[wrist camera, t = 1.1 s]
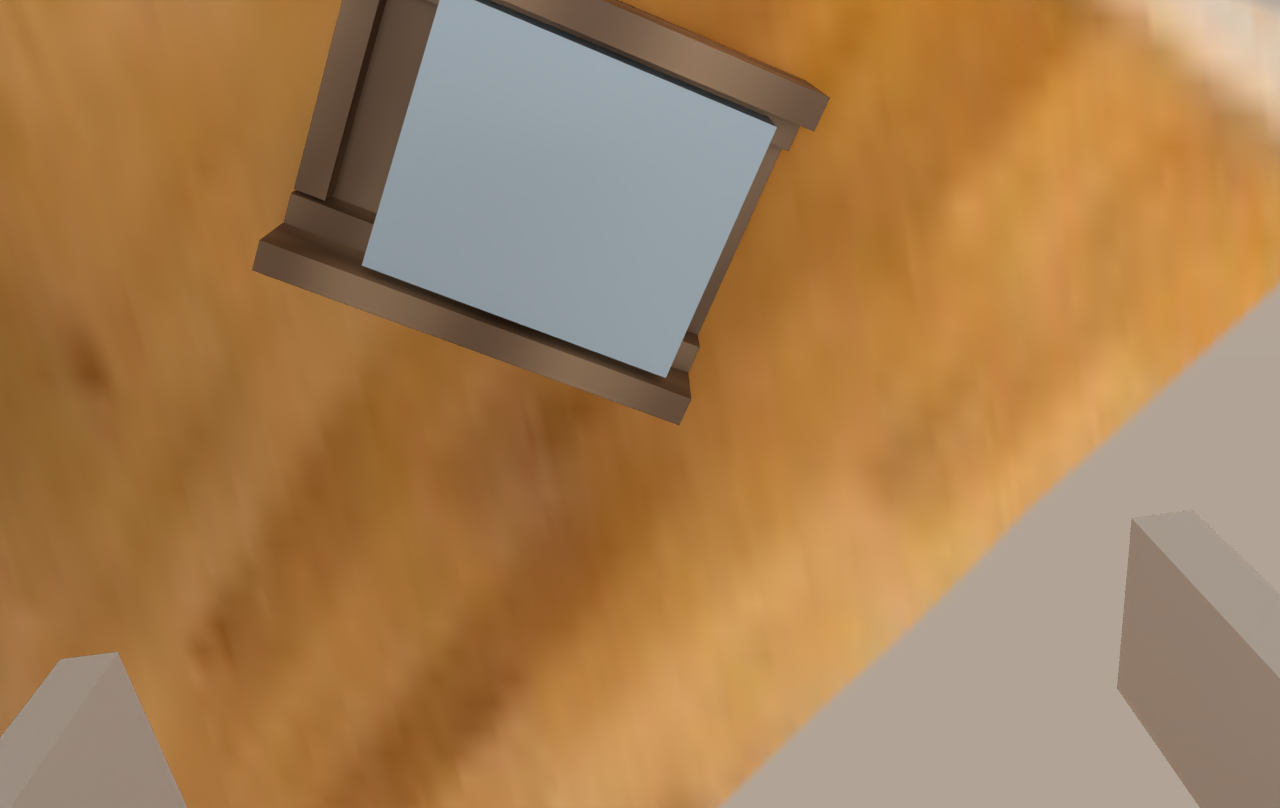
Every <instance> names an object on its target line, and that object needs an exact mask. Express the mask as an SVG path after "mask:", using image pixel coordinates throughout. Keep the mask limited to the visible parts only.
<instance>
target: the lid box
mask: <svg viewBox="0 0 1280 808" xmlns="http://www.w3.org/2000/svg"><path fill="white" fill-rule="evenodd" d="M491 1H494V2H496V3H499V4H501V5H503V6H506V7H508V8H510V9H513V10H515V11H518V12H520V13H522V14H525V15H527V16H529V17H532V18H534V19H537V20H539V21H541V22H544V23H546V24H548V25H551V26H553V27H556V28H558V29H560V30H563V31H565V32H568V33H570V34H572V35H575V36H577V37H579V38H582V39H584V40H587V41H589V42H591V43H594V44H596V45H598V46H601V47H603V48H606V49H608V50H610V51H613V52H615V53H617V54H620V55H622V56H625V57H627V58H629V59H632V60H634V61H636V62H639V63H641V64H644V65H646V66H648V67H651V68H653V69H655V70H658V71H660V72H663V73H665V74H667V75H670V76H672V77H674V78H677V79H679V80H682V81H684V82H686V83H689V84H691V85H693V86H696V87H698V88H701V89H703V90H705V91H708V92H710V93H713V94H715V95H717V96H720V97H722V98H724V99H727V100H729V101H732V102H734V103H736V104H739V105H741V106H743V107H746V108H748V109H751V110H753V111H755V112H758V113H760V114H762V115H765V116H767V117H769V118H770V119H771V120H772V122H773V123H774V124H775V125H776V126H777V129H776V131H775V133H774V135H773V138H772V140H771V142H770V144H769V147H768V149H767V151H766V153H765V156H764V158H763V160H762V162H761V165H760V167H759V169H758V171H757V174H756V176H755V178H754V180H753V183H752V185H751V187H750V189H749V192H748V194H747V196H746V198H745V201H744V203H743V205H742V207H741V210H740V212H739V214H738V216H737V219H736V221H735V223H734V225H733V228H732V230H731V232H730V234H729V237H728V239H727V241H726V243H725V246H724V248H723V250H722V252H721V255H720V257H719V259H718V261H717V264H716V266H715V268H714V270H713V273H712V275H711V277H710V279H709V282H708V284H707V286H706V288H705V291H704V293H703V295H702V297H701V300H700V302H699V304H698V306H697V309H696V311H695V313H694V315H693V318H692V320H691V322H690V324H689V327H688V329H687V331H686V333H685V336H684V338H683V340H682V342H681V345H680V347H679V349H678V352H677V354H676V356H675V358H674V361H673V363H672V365H671V367H670V370H669V372H668V374H667V376H666V378H665V377H662V376H659V375H656V374H654V373H651V372H648V371H646V370H643V369H640V368H638V367H635V366H632V365H629V364H627V363H624V362H621V361H619V360H616V359H613V358H611V357H608V356H605V355H602V354H600V353H597V352H594V351H592V350H589V349H586V348H584V347H581V346H578V345H575V344H573V343H570V342H567V341H565V340H562V339H559V338H556V337H554V336H551V335H548V334H546V333H543V332H540V331H538V330H535V329H532V328H529V327H527V326H524V325H521V324H519V323H516V322H513V321H511V320H508V319H505V318H502V317H500V316H497V315H494V314H492V313H489V312H486V311H483V310H481V309H478V308H475V307H473V306H470V305H467V304H465V303H462V302H459V301H456V300H454V299H451V298H448V297H446V296H443V295H440V294H438V293H435V292H432V291H429V290H427V289H424V288H421V287H419V286H416V285H413V284H411V283H408V282H405V281H402V280H400V279H397V278H394V277H392V276H389V275H386V274H383V273H381V272H378V271H375V270H373V269H370V268H367V267H365V266H362V263H363V259H364V256H365V252H366V249H367V246H368V242H369V239H370V235H371V232H372V229H373V225H374V222H375V218H376V215H377V211H378V208H379V205H380V201H381V198H382V194H383V191H384V188H385V184H386V181H387V177H388V174H389V171H390V167H391V164H392V160H393V157H394V154H395V150H396V147H397V143H398V140H399V137H400V133H401V130H402V126H403V123H404V120H405V116H406V113H407V109H408V106H409V103H410V99H411V96H412V92H413V89H414V86H415V82H416V79H417V75H418V72H419V69H420V65H421V62H422V58H423V55H424V52H425V48H426V45H427V41H428V38H429V34H430V31H431V28H432V24H433V21H434V17H435V14H436V11H437V7H438V4H439V0H342V4H341V8H340V12H339V16H338V20H337V24H336V27H335V31H334V35H333V39H332V43H331V47H330V51H329V55H328V59H327V62H326V66H325V70H324V74H323V78H322V82H321V86H320V90H319V94H318V98H317V101H316V105H315V109H314V113H313V117H312V121H311V125H310V129H309V133H308V136H307V140H306V144H305V148H304V152H303V156H302V160H301V164H300V168H299V172H298V175H297V179H296V183H295V187H294V189H295V190H296V191H294V192H293V193H291V196H290V200H289V204H288V208H287V212H286V216H285V220H284V223H282V224H281V225H280V226H278V227H277V228H276V229H274V230H273V231H272V232H270V233H269V234H268V235H266V236H265V237H263V238H262V239H261V240H260V241H259V245H258V249H257V253H256V257H255V261H254V265H253V269H252V270H253V271H255V272H258V273H261V274H264V275H266V276H269V277H272V278H275V279H277V280H280V281H283V282H286V283H288V284H291V285H294V286H297V287H300V288H302V289H305V290H308V291H311V292H313V293H316V294H319V295H322V296H324V297H327V298H330V299H333V300H335V301H338V302H341V303H344V304H346V305H349V306H352V307H355V308H357V309H360V310H363V311H366V312H368V313H371V314H374V315H377V316H379V317H382V318H385V319H388V320H390V321H393V322H396V323H399V324H401V325H404V326H407V327H410V328H412V329H415V330H418V331H421V332H424V333H426V334H429V335H432V336H435V337H437V338H440V339H443V340H446V341H448V342H451V343H454V344H457V345H459V346H462V347H465V348H468V349H470V350H473V351H476V352H479V353H481V354H484V355H487V356H490V357H492V358H495V359H498V360H501V361H503V362H506V363H509V364H512V365H514V366H517V367H520V368H523V369H525V370H528V371H531V372H534V373H537V374H539V375H542V376H545V377H548V378H550V379H553V380H556V381H559V382H561V383H564V384H567V385H570V386H572V387H575V388H578V389H581V390H583V391H586V392H589V393H592V394H594V395H597V396H600V397H603V398H605V399H608V400H611V401H614V402H616V403H619V404H622V405H625V406H627V407H630V408H633V409H636V410H638V411H641V412H644V413H647V414H650V415H652V416H655V417H658V418H661V419H663V420H666V421H669V422H672V423H674V424H677V425H680V422H681V420H682V418H683V416H684V414H685V412H686V409H687V407H688V405H689V403H690V401H691V393H690V385H689V377H688V372H689V370H690V368H691V365H692V363H693V361H694V359H695V357H696V354H697V352H698V350H699V348H700V347H699V340H698V333H699V331H700V329H701V327H702V324H703V322H704V320H705V318H706V316H707V313H708V311H709V309H710V307H711V304H712V302H713V300H714V298H715V296H716V293H717V291H718V289H719V287H720V284H721V282H722V280H723V278H724V275H725V273H726V271H727V269H728V267H729V264H730V262H731V260H732V258H733V255H734V253H735V251H736V249H737V247H738V244H739V242H740V240H741V238H742V235H743V233H744V231H745V229H746V227H747V224H748V222H749V220H750V218H751V215H752V213H753V211H754V209H755V207H756V204H757V202H758V200H759V198H760V195H761V193H762V191H763V189H764V187H765V184H766V182H767V180H768V178H769V175H770V173H771V171H772V169H773V166H774V164H775V162H776V160H777V158H778V155H779V153H780V151H781V149H785V150H787V151H789V149H790V147H791V145H792V142H793V140H794V138H795V136H796V134H797V131H798V129H799V127H800V126H802V127H805V128H807V129H809V130H812V131H815V129H816V126H817V124H818V122H819V120H820V118H821V116H822V113H823V111H824V109H825V107H826V105H827V103H828V100H829V97H828V96H826V95H825V94H824V93H822V92H821V91H819V90H818V89H817V88H815V87H814V86H812V85H811V84H810V83H808V82H807V81H805V80H802V79H800V78H798V77H795V76H793V75H791V74H788V73H786V72H784V71H781V70H779V69H777V68H774V67H772V66H770V65H767V64H765V63H763V62H761V61H758V60H756V59H754V58H751V57H749V56H747V55H744V54H742V53H740V52H737V51H735V50H733V49H730V48H728V47H726V46H723V45H721V44H719V43H716V42H714V41H712V40H709V39H707V38H705V37H702V36H700V35H698V34H695V33H693V32H691V31H688V30H686V29H684V28H681V27H679V26H677V25H674V24H672V23H670V22H667V21H665V20H663V19H660V18H658V17H656V16H653V15H651V14H649V13H646V12H644V11H642V10H639V9H637V8H635V7H632V6H630V5H628V4H625V3H623V2H621V1H618V0H491Z"/></svg>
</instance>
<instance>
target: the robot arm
mask: <svg viewBox="0 0 1280 808" xmlns="http://www.w3.org/2000/svg"><path fill="white" fill-rule="evenodd" d="M1117 689H1118V690H1119V692H1120V693H1121V694H1122V696H1123V697H1124V699H1125V700H1126V702H1127V703H1128V705H1129V706H1130V707H1131V709H1132V710H1133V712H1134V713H1135V715H1136V716H1137V717H1138V719H1139V720H1140V722H1141V723H1142V725H1143V726H1144V727H1145V729H1146V730H1147V732H1148V733H1149V735H1150V736H1151V737H1152V739H1153V741H1154V742H1155V743H1156V745H1157V746H1158V748H1159V749H1160V751H1161V752H1162V754H1163V755H1164V756H1165V758H1166V759H1167V761H1168V762H1169V764H1170V765H1171V767H1172V768H1173V769H1174V771H1175V772H1176V774H1177V775H1178V777H1179V778H1180V779H1181V781H1182V782H1183V784H1184V785H1185V787H1186V788H1187V789H1188V791H1189V793H1190V794H1191V795H1192V797H1193V798H1194V799H1195V801H1196V803H1197V804H1198V805H1199V807H1200V808H1280V593H1279V592H1278V591H1277V590H1276V589H1275V588H1274V587H1273V586H1271V585H1270V584H1269V583H1268V582H1267V581H1266V580H1265V579H1264V578H1263V577H1262V576H1261V575H1260V574H1259V573H1258V572H1257V571H1256V570H1255V569H1254V568H1253V567H1252V566H1251V565H1249V564H1248V563H1247V562H1246V561H1245V560H1244V559H1243V558H1242V557H1241V556H1240V555H1239V554H1238V553H1237V552H1236V551H1235V550H1234V549H1233V548H1232V547H1231V546H1230V545H1229V544H1227V542H1226V541H1224V540H1223V539H1222V538H1221V537H1220V536H1219V535H1218V534H1217V533H1216V532H1215V531H1214V530H1213V529H1212V528H1211V527H1210V526H1209V525H1208V524H1207V523H1205V522H1204V520H1202V519H1201V518H1200V517H1199V516H1198V515H1197V514H1196V513H1195V512H1194V511H1193V510H1190V511H1183V512H1176V513H1168V514H1160V515H1152V516H1145V517H1137V518H1132V522H1131V533H1130V545H1129V557H1128V569H1127V579H1126V591H1125V604H1124V614H1123V626H1122V638H1121V650H1120V661H1119V672H1118V684H1117ZM186 807H187V806H186V804H185V801H184V799H183V797H182V795H181V793H180V790H179V788H178V786H177V784H176V781H175V779H174V777H173V775H172V772H171V770H170V768H169V766H168V763H167V761H166V759H165V757H164V754H163V752H162V750H161V748H160V745H159V743H158V741H157V739H156V736H155V734H154V732H153V730H152V728H151V725H150V723H149V721H148V719H147V716H146V714H145V712H144V710H143V707H142V705H141V703H140V701H139V698H138V696H137V694H136V692H135V689H134V687H133V685H132V683H131V680H130V678H129V676H128V674H127V672H126V669H125V667H124V665H123V663H122V660H121V658H120V656H119V654H118V652H113V653H105V654H97V655H90V656H82V657H75V658H67V659H60V660H59V662H58V663H57V664H56V666H55V667H54V668H53V670H52V671H51V672H50V673H49V675H48V676H47V677H46V679H45V680H44V681H43V683H42V684H41V685H40V686H39V688H38V689H37V690H36V692H35V693H34V694H33V696H32V697H31V698H30V700H29V701H28V702H27V703H26V705H25V706H24V707H23V709H22V710H21V711H20V713H19V714H18V715H17V717H16V718H15V719H14V720H13V722H12V723H11V724H10V726H9V727H8V728H7V730H6V731H5V732H4V734H3V735H2V736H1V737H0V808H186Z"/></svg>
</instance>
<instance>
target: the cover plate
mask: <svg viewBox="0 0 1280 808" xmlns="http://www.w3.org/2000/svg"><path fill="white" fill-rule="evenodd" d="M776 129H777V126H776V125H775V124H774V123H773V122H772V120H771V119H770V118H769V117H767V116H765V115H762V114H760V113H758V112H755V111H753V110H751V109H748V108H746V107H743V106H741V105H739V104H736V103H734V102H732V101H729V100H727V99H724V98H722V97H720V96H717V95H715V94H713V93H710V92H708V91H705V90H703V89H701V88H698V87H696V86H693V85H691V84H689V83H686V82H684V81H682V80H679V79H677V78H674V77H672V76H670V75H667V74H665V73H663V72H660V71H658V70H655V69H653V68H651V67H648V66H646V65H644V64H641V63H639V62H636V61H634V60H632V59H629V58H627V57H625V56H622V55H620V54H617V53H615V52H613V51H610V50H608V49H606V48H603V47H601V46H598V45H596V44H594V43H591V42H589V41H587V40H584V39H582V38H579V37H577V36H575V35H572V34H570V33H568V32H565V31H563V30H560V29H558V28H556V27H553V26H551V25H548V24H546V23H544V22H541V21H539V20H537V19H534V18H532V17H529V16H527V15H525V14H522V13H520V12H518V11H515V10H513V9H510V8H508V7H506V6H503V5H501V4H499V3H496V2H494V1H491V0H439V4H438V7H437V11H436V14H435V17H434V21H433V24H432V28H431V31H430V34H429V38H428V41H427V45H426V48H425V52H424V55H423V58H422V62H421V65H420V69H419V72H418V75H417V79H416V82H415V86H414V89H413V92H412V96H411V99H410V103H409V106H408V109H407V113H406V116H405V120H404V123H403V126H402V130H401V133H400V137H399V140H398V143H397V147H396V150H395V154H394V157H393V160H392V164H391V167H390V171H389V174H388V177H387V181H386V184H385V188H384V191H383V194H382V198H381V201H380V205H379V208H378V211H377V215H376V218H375V222H374V225H373V229H372V232H371V235H370V239H369V242H368V246H367V249H366V252H365V256H364V259H363V263H362V266H365V267H367V268H370V269H373V270H375V271H378V272H381V273H383V274H386V275H389V276H392V277H394V278H397V279H400V280H402V281H405V282H408V283H411V284H413V285H416V286H419V287H421V288H424V289H427V290H429V291H432V292H435V293H438V294H440V295H443V296H446V297H448V298H451V299H454V300H456V301H459V302H462V303H465V304H467V305H470V306H473V307H475V308H478V309H481V310H483V311H486V312H489V313H492V314H494V315H497V316H500V317H502V318H505V319H508V320H511V321H513V322H516V323H519V324H521V325H524V326H527V327H529V328H532V329H535V330H538V331H540V332H543V333H546V334H548V335H551V336H554V337H556V338H559V339H562V340H565V341H567V342H570V343H573V344H575V345H578V346H581V347H584V348H586V349H589V350H592V351H594V352H597V353H600V354H602V355H605V356H608V357H611V358H613V359H616V360H619V361H621V362H624V363H627V364H629V365H632V366H635V367H638V368H640V369H643V370H646V371H648V372H651V373H654V374H656V375H659V376H662V377H665V378H666V376H667V374H668V372H669V370H670V367H671V365H672V363H673V361H674V358H675V356H676V354H677V352H678V349H679V347H680V345H681V342H682V340H683V338H684V336H685V333H686V331H687V329H688V327H689V324H690V322H691V320H692V318H693V315H694V313H695V311H696V309H697V306H698V304H699V302H700V300H701V297H702V295H703V293H704V291H705V288H706V286H707V284H708V282H709V279H710V277H711V275H712V273H713V270H714V268H715V266H716V264H717V261H718V259H719V257H720V255H721V252H722V250H723V248H724V246H725V243H726V241H727V239H728V237H729V234H730V232H731V230H732V228H733V225H734V223H735V221H736V219H737V216H738V214H739V212H740V210H741V207H742V205H743V203H744V201H745V198H746V196H747V194H748V192H749V189H750V187H751V185H752V183H753V180H754V178H755V176H756V174H757V171H758V169H759V167H760V165H761V162H762V160H763V158H764V156H765V153H766V151H767V149H768V147H769V144H770V142H771V140H772V138H773V135H774V133H775V131H776Z"/></svg>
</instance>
